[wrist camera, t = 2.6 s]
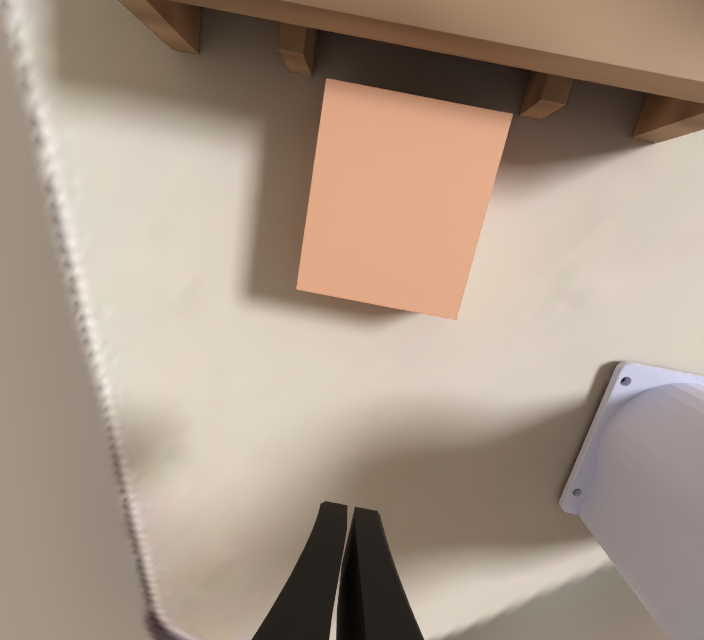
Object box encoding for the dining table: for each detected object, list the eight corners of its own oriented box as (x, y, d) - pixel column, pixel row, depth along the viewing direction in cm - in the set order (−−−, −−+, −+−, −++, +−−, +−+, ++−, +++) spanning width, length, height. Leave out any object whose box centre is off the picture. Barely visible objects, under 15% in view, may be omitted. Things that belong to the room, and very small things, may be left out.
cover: (441, 304, 18) (456, 320, 15) (308, 279, 18) (296, 289, 15) (486, 135, 15) (513, 113, 13) (334, 106, 15) (326, 78, 13)
